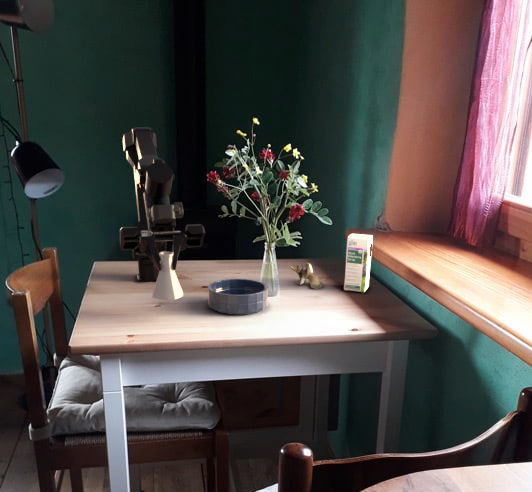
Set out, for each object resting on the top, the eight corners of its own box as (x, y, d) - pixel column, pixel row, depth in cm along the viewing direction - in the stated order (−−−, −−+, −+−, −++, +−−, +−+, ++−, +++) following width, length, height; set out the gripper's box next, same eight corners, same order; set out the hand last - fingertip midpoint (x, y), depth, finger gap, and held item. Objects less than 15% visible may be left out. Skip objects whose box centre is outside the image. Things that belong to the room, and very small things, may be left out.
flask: (177, 302, 136) (176, 258, 132) (146, 299, 137) (144, 255, 133) (188, 292, 142) (187, 250, 139) (158, 290, 144) (156, 248, 140)
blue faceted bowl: (205, 299, 154) (204, 279, 153) (260, 296, 157) (260, 277, 156) (212, 317, 142) (212, 296, 140) (272, 314, 144) (273, 294, 143)
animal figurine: (283, 278, 169) (302, 280, 161) (294, 255, 170) (312, 256, 162) (303, 290, 173) (322, 293, 165) (313, 267, 174) (333, 269, 166)
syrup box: (343, 290, 164) (346, 236, 159) (348, 284, 169) (352, 232, 164) (364, 293, 162) (368, 238, 157) (369, 287, 167) (373, 234, 162)
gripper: (117, 190, 132) (125, 252, 126) (202, 188, 137) (214, 248, 132) (116, 219, 142) (124, 279, 136) (196, 217, 147) (206, 274, 142)
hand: (167, 269), depth 136 cm, fingers closed on flask, 3 cm apart
